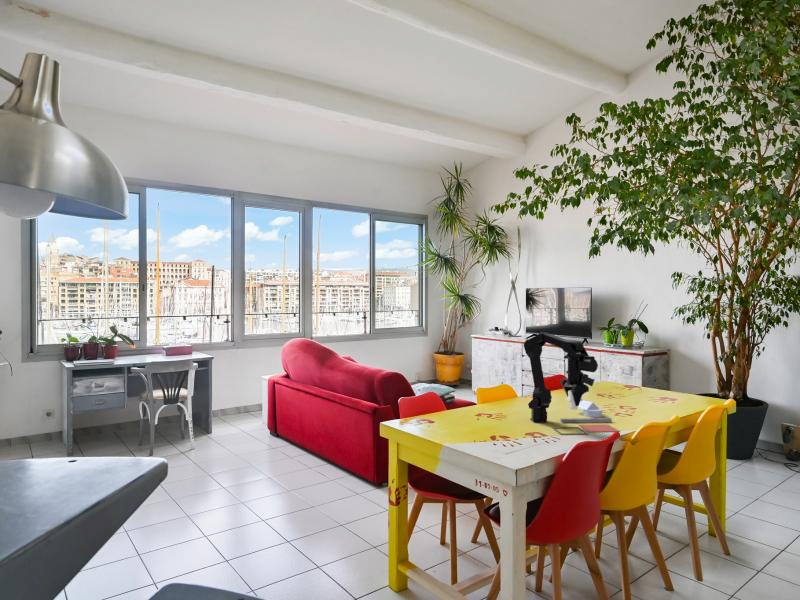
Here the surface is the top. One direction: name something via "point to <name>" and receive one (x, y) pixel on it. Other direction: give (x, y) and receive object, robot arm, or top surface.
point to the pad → (599, 428)
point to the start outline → (570, 433)
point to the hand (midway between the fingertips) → (574, 404)
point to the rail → (586, 420)
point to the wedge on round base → (590, 409)
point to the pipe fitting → (572, 400)
